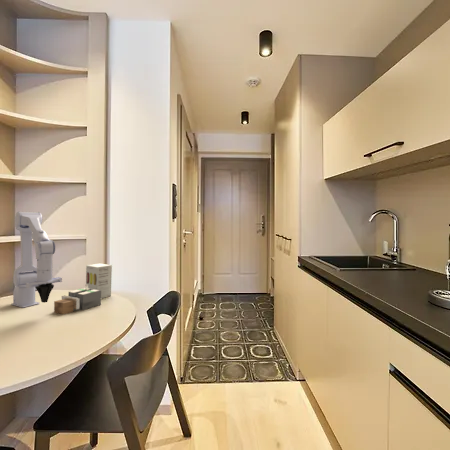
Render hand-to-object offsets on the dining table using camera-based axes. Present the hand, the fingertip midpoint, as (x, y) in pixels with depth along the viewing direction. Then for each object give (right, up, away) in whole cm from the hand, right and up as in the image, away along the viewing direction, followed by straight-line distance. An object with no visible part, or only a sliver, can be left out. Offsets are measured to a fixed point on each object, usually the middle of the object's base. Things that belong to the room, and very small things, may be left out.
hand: (44, 301), depth 132 cm
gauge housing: (+9, -6, +18) cm, 21 cm away
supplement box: (+8, -6, +35) cm, 37 cm away
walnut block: (+4, -7, +8) cm, 11 cm away
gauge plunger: (+8, -5, +15) cm, 18 cm away
